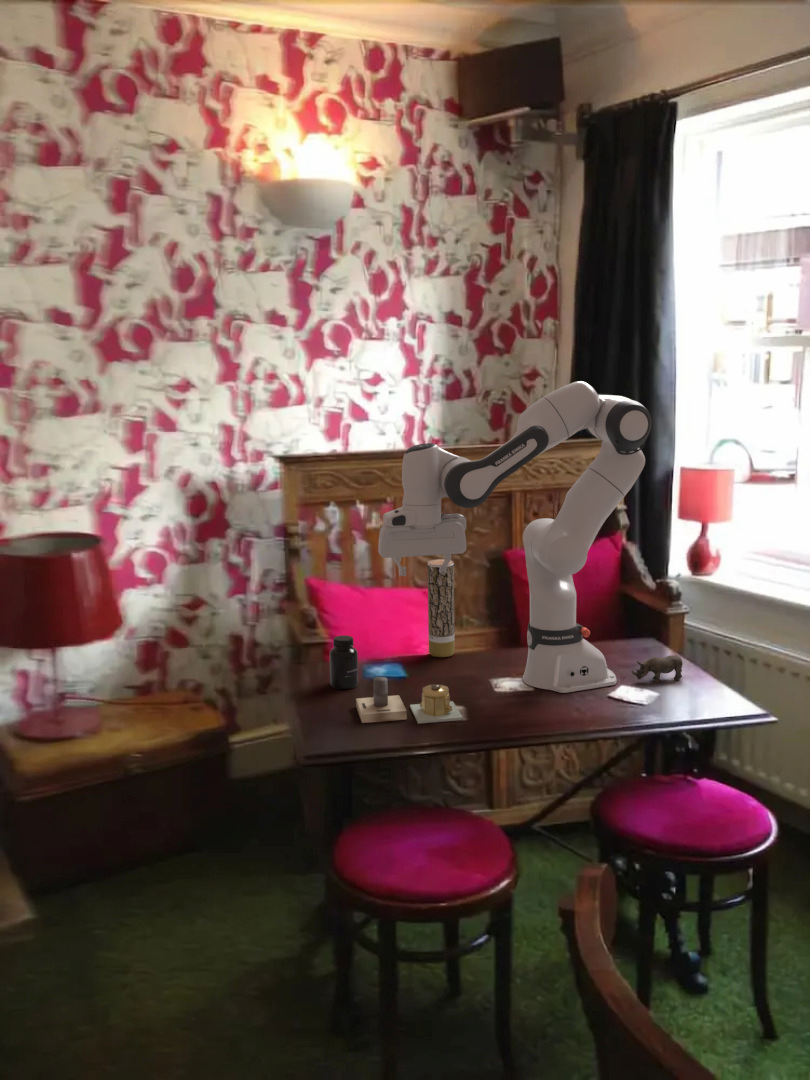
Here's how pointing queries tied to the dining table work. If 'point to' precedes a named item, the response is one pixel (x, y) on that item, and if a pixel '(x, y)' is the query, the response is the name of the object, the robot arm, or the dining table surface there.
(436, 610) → the paper tube
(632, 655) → the dining table surface
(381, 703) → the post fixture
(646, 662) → the rhino figurine
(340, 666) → the supplement bottle
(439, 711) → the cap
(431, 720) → the coaster
